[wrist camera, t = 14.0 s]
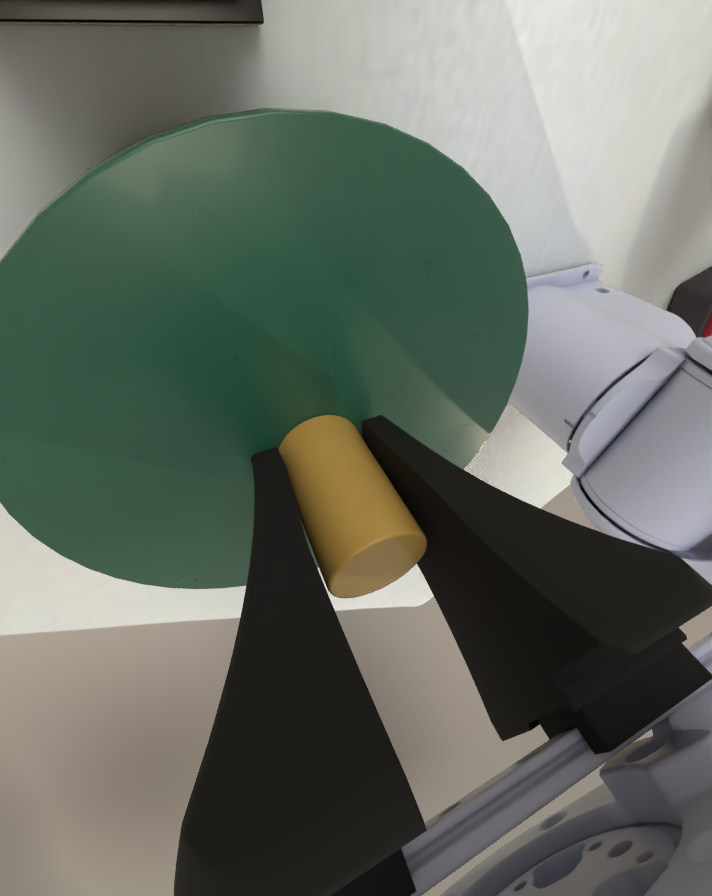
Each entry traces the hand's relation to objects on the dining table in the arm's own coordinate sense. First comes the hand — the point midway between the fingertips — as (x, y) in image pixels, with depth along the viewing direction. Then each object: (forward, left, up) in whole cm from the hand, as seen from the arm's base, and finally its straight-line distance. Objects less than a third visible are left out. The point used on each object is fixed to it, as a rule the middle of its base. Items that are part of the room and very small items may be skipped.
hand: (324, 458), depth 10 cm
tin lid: (0, 0, -1) cm, 1 cm away
